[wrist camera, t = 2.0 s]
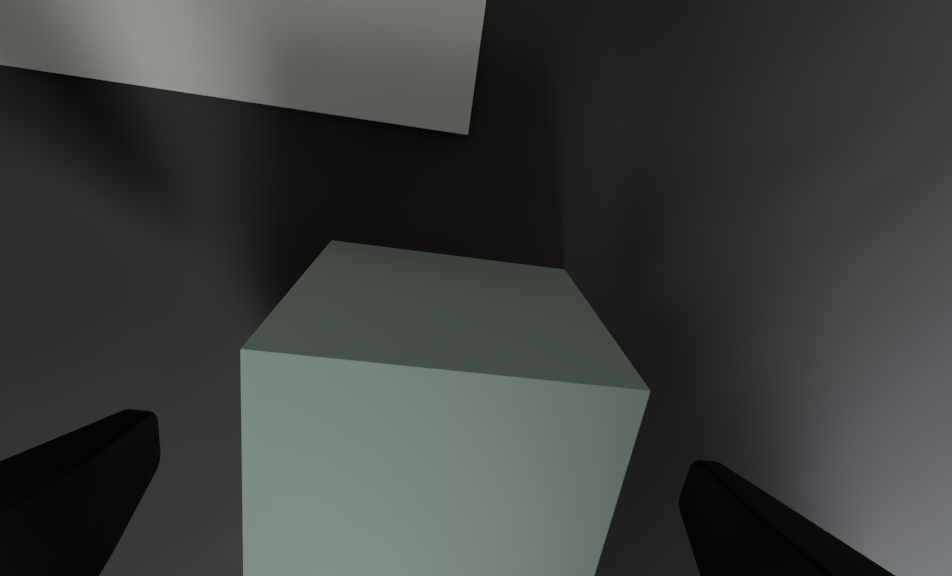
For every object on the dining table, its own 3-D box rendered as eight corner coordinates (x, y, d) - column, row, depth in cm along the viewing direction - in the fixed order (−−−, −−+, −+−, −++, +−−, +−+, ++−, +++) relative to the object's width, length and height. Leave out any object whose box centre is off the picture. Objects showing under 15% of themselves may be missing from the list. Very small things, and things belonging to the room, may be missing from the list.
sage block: (563, 268, 11) (650, 390, 6) (523, 455, 13) (568, 660, 8) (332, 239, 11) (240, 349, 6) (322, 437, 12) (244, 647, 8)
